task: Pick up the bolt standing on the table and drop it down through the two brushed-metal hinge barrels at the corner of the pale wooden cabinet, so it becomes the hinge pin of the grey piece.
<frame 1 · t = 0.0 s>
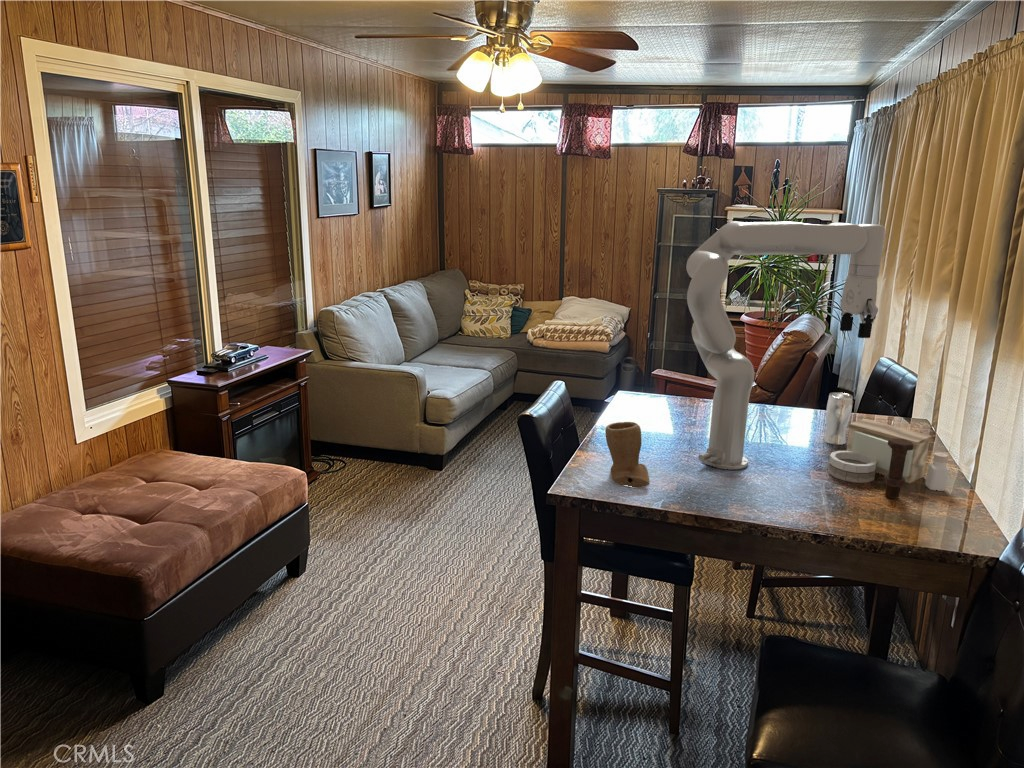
hand: (854, 334, 199), 37 cm above the table, tool pointing down, fingers open, 9 cm apart
bolt: (891, 497, 185), on the table
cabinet: (850, 474, 199), on the table
silver tall cylinder: (834, 442, 226), on the table
tan hollow piece: (625, 479, 194), on the table
grey piece: (865, 455, 195), point 7 cm above the table, hinge at -8.0°
pepper shaker: (934, 489, 191), on the table
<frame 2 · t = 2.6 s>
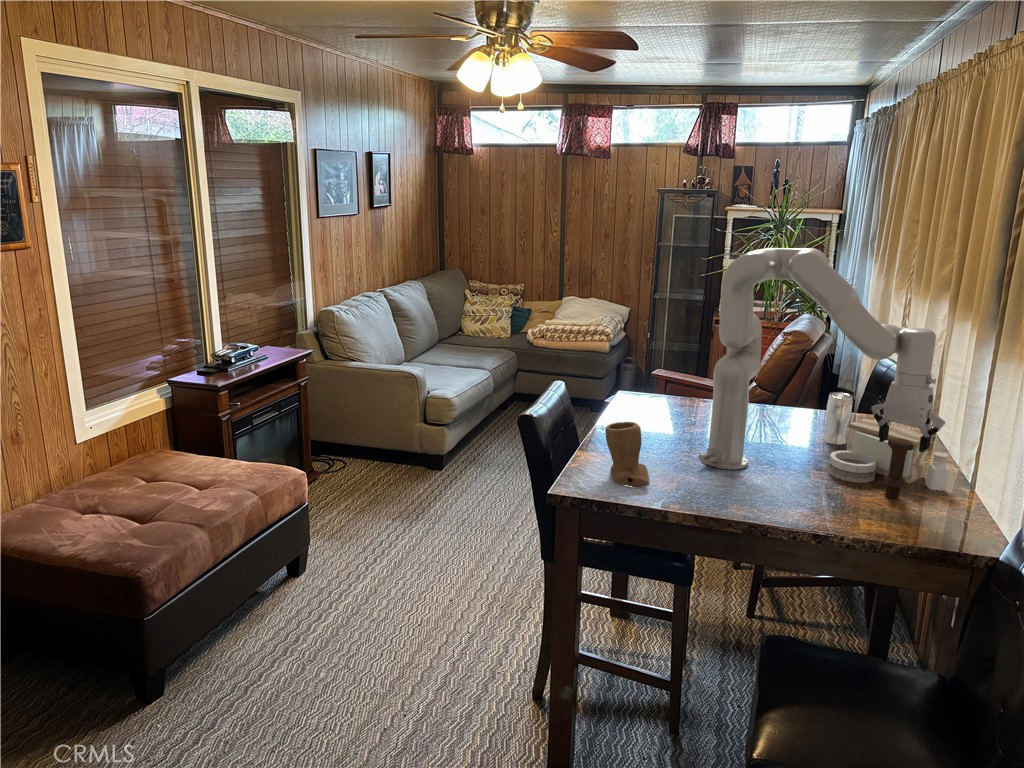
hand: (902, 445, 181), 14 cm above the table, tool pointing down, fingers open, 9 cm apart
nothing on the table moved.
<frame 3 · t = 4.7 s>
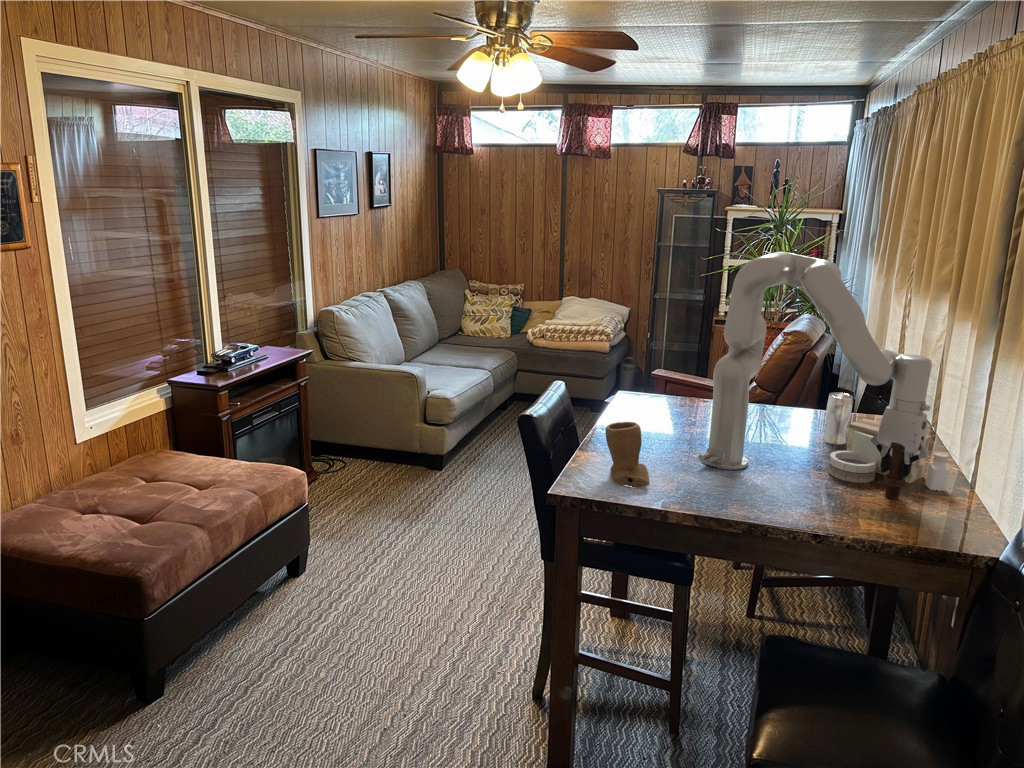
hand: (894, 473, 184), 6 cm above the table, tool pointing down, fingers closed on bolt, 4 cm apart
bolt: (891, 497, 185), on the table, touching gripper
everything else where it was.
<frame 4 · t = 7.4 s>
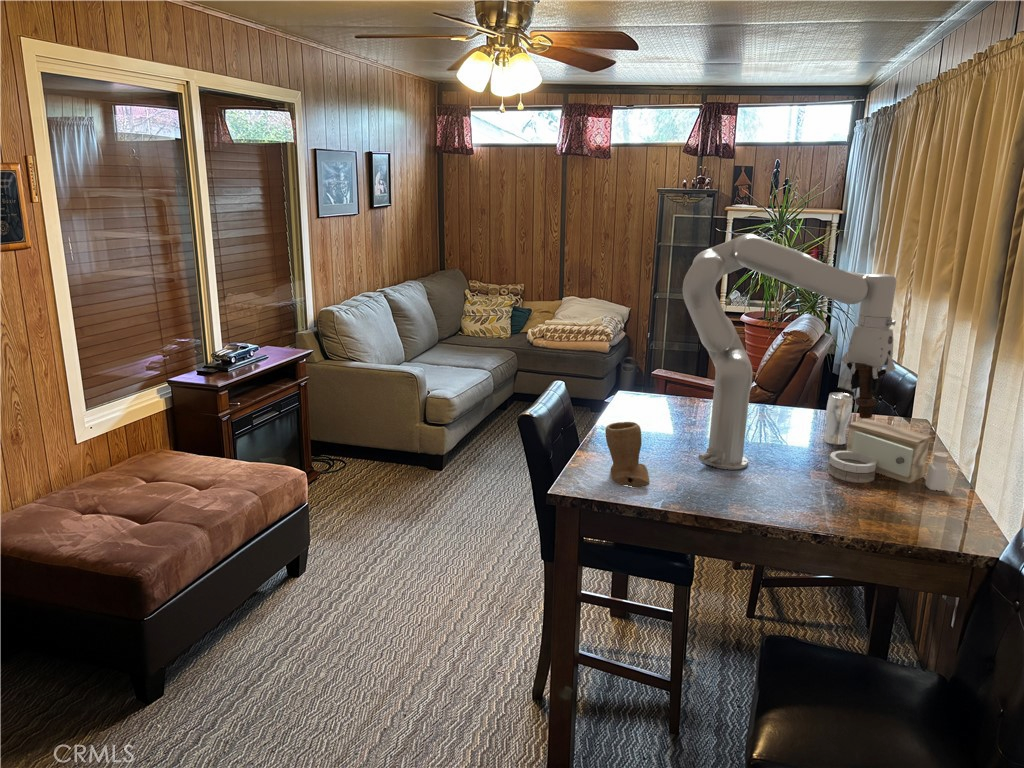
hand: (863, 389, 193), 24 cm above the table, tool pointing down, fingers closed on bolt, 4 cm apart
bolt: (865, 418, 194), point 16 cm above the table, touching gripper
everything else where it was.
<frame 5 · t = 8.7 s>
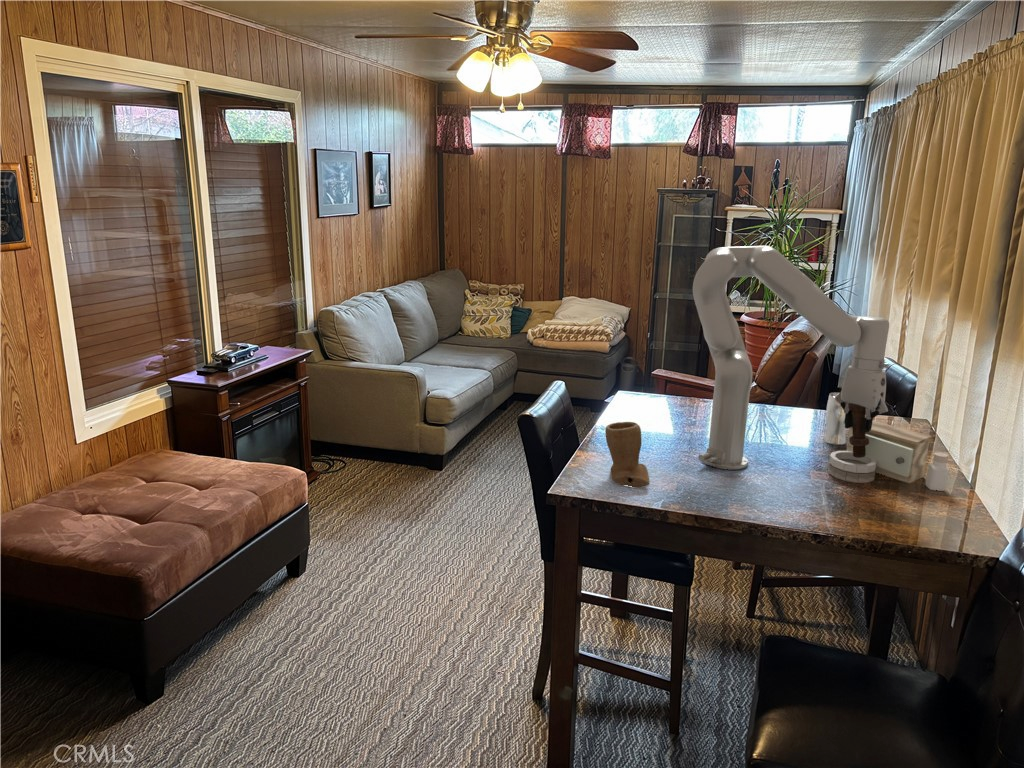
hand: (857, 429, 196), 13 cm above the table, tool pointing down, fingers closed on bolt, 4 cm apart
bolt: (859, 457, 197), point 5 cm above the table, touching gripper
everything else where it was.
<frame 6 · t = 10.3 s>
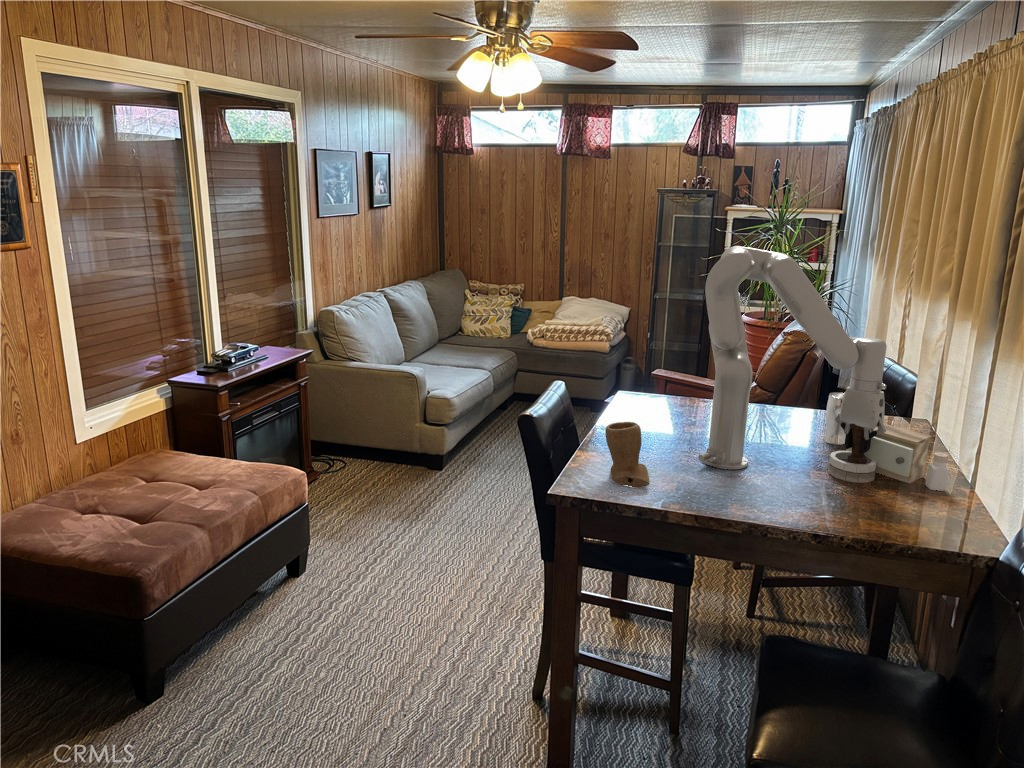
hand: (856, 449, 197), 7 cm above the table, tool pointing down, fingers closed on bolt, 3 cm apart
bolt: (856, 475, 199), resting in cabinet, touching gripper
everything else where it was.
when the fingers open (7 cm above the table, at t = 10.3 s): bolt stays where it is, resting in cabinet.
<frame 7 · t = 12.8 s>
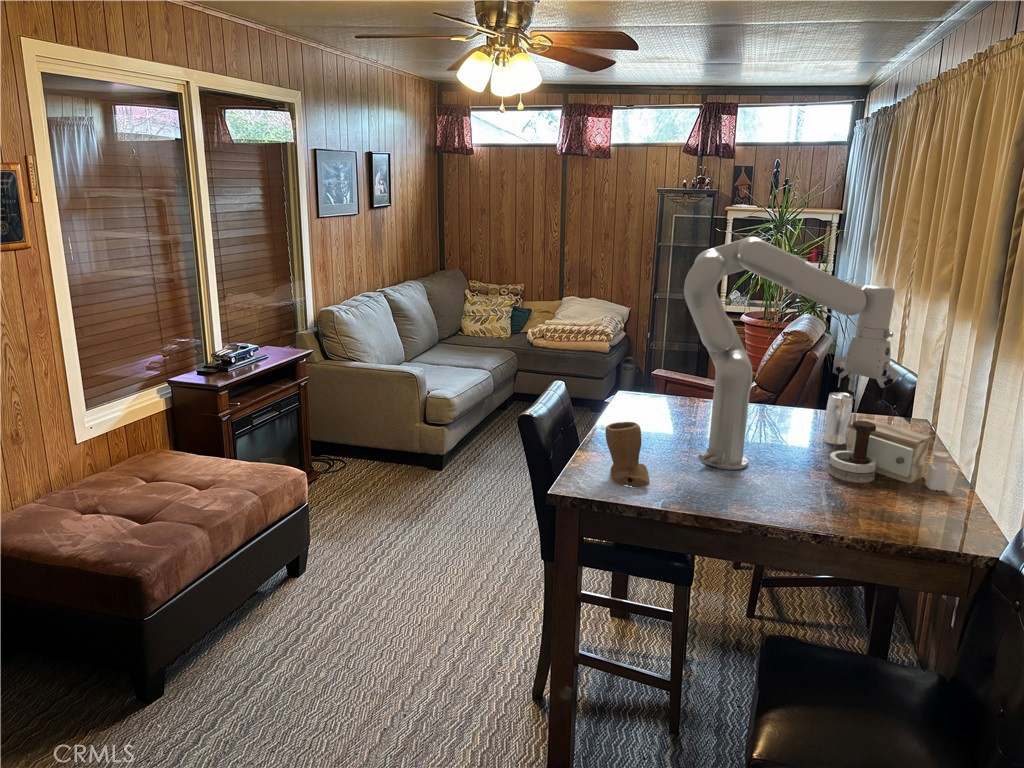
hand: (860, 396, 194), 22 cm above the table, tool pointing down, fingers open, 9 cm apart
bolt: (856, 476, 199), resting in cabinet
everything else where it was.
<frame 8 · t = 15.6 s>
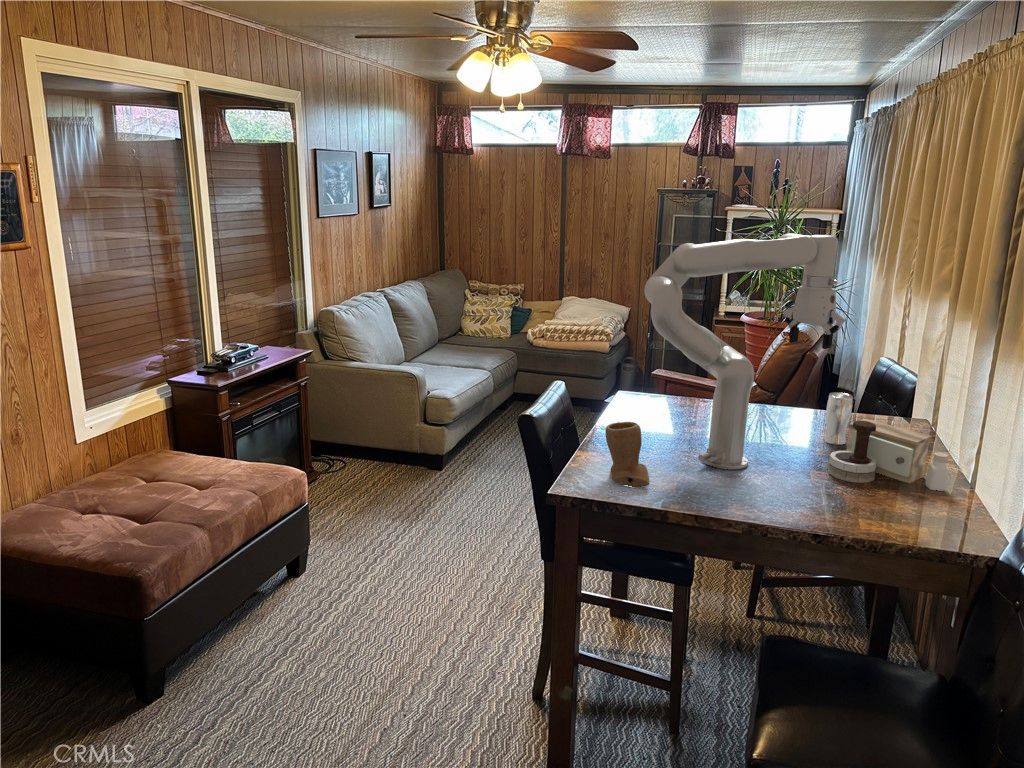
hand: (809, 345, 198), 34 cm above the table, tool pointing down, fingers open, 9 cm apart
nothing on the table moved.
at the end: bolt 1.5 cm off-centre on the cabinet, point 0.0 cm above the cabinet's base; bolt tilted 0°; the gripper is holding nothing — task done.
